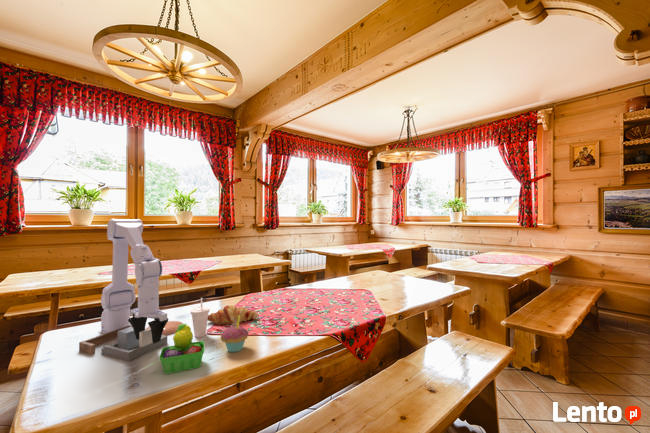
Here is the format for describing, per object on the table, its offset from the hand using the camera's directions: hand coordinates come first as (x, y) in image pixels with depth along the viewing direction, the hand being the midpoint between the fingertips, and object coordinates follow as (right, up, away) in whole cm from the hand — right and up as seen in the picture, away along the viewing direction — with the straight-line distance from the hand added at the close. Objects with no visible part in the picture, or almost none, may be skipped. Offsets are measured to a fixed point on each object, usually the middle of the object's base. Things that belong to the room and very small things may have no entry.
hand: (148, 340), depth 91 cm
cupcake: (+27, -4, +2) cm, 28 cm away
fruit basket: (+15, -4, -8) cm, 18 cm away
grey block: (-9, -4, +3) cm, 10 cm away
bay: (-17, -4, +7) cm, 19 cm away
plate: (-5, -4, +18) cm, 19 cm away
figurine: (+23, -4, +14) cm, 28 cm away
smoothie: (+11, -4, +13) cm, 17 cm away
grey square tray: (-6, -4, +2) cm, 7 cm away
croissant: (+18, -5, +28) cm, 33 cm away
